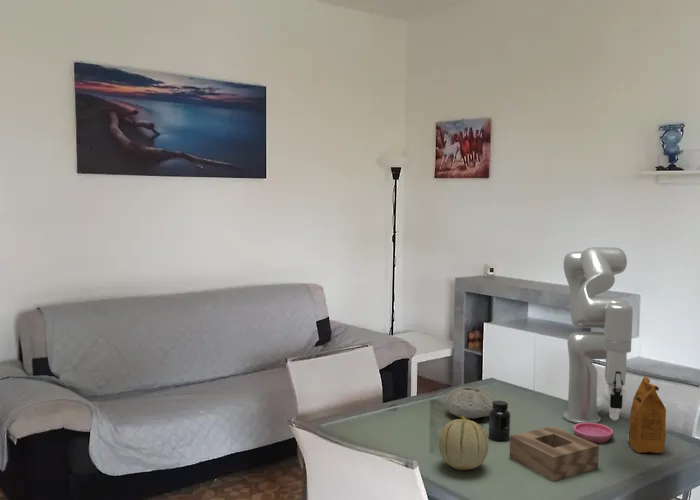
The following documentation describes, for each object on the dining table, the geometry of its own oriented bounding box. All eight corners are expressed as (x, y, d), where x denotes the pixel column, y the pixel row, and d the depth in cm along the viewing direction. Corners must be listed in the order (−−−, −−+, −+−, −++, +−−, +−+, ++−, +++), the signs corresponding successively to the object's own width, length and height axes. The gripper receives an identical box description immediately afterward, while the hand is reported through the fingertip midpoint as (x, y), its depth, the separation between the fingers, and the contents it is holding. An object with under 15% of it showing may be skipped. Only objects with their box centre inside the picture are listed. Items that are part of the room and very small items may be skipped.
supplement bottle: (510, 442, 214) (511, 406, 212) (488, 441, 215) (489, 405, 214) (509, 434, 220) (510, 400, 219) (488, 433, 222) (489, 398, 220)
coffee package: (657, 441, 215) (660, 375, 213) (667, 456, 203) (671, 387, 201) (624, 439, 217) (627, 373, 215) (633, 454, 205) (636, 385, 203)
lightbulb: (599, 416, 199) (600, 381, 198) (618, 416, 200) (620, 381, 199) (609, 424, 193) (610, 387, 192) (629, 423, 194) (630, 387, 193)
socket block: (552, 447, 210) (553, 425, 209) (598, 468, 194) (599, 445, 193) (509, 457, 202) (510, 435, 201) (553, 481, 186) (554, 457, 185)
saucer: (568, 439, 217) (568, 430, 216) (578, 428, 227) (579, 419, 227) (607, 448, 210) (608, 438, 210) (616, 435, 220) (617, 426, 220)
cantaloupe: (455, 482, 185) (456, 430, 183) (428, 462, 198) (429, 414, 197) (498, 473, 191) (500, 423, 189) (470, 454, 204) (471, 407, 203)
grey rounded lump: (473, 404, 250) (473, 379, 250) (506, 419, 235) (507, 391, 234) (436, 413, 241) (436, 386, 240) (468, 428, 226) (469, 400, 225)
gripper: (601, 337, 204) (598, 394, 206) (606, 351, 187) (603, 412, 189) (627, 339, 202) (624, 396, 203) (635, 353, 185) (632, 415, 187)
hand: (614, 403), depth 196 cm, fingers closed on lightbulb, 5 cm apart
